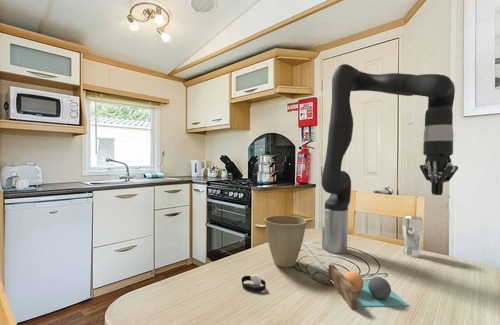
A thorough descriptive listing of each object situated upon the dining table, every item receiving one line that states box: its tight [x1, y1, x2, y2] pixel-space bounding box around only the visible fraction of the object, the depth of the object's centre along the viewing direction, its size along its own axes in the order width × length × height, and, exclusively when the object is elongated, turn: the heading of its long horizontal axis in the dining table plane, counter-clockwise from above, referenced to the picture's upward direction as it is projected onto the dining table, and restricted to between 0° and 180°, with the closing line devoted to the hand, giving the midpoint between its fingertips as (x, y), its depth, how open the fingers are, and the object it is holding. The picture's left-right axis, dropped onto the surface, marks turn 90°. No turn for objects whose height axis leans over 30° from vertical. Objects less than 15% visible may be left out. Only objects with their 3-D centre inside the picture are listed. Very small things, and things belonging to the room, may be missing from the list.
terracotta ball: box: [343, 270, 364, 292], centre depth 71 cm, size 6×6×6 cm
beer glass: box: [401, 215, 424, 258], centre depth 100 cm, size 7×7×15 cm
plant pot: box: [264, 214, 307, 268], centre depth 90 cm, size 15×15×16 cm
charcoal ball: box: [368, 276, 392, 299], centre depth 68 cm, size 6×6×6 cm
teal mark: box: [357, 281, 410, 308], centre depth 71 cm, size 14×14×1 cm
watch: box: [241, 273, 267, 293], centre depth 72 cm, size 8×5×4 cm, turn 60°
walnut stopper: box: [327, 264, 358, 310], centre depth 70 cm, size 16×2×4 cm, turn 3°
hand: (436, 194), depth 79 cm, fingers closed
